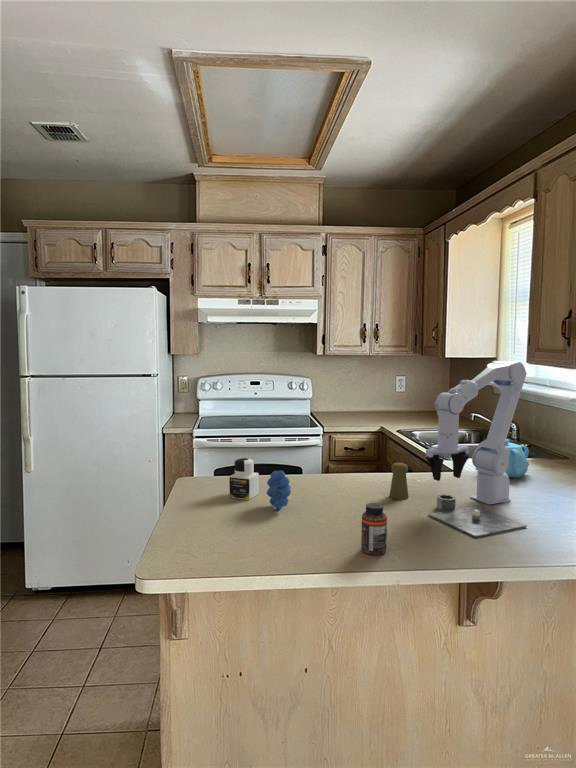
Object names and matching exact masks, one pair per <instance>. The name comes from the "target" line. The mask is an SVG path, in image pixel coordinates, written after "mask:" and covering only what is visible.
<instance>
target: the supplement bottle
mask: <svg viewBox="0 0 576 768" xmlns="http://www.w3.org/2000/svg"><path fill="white" fill-rule="evenodd" d="M387 534H388V516H387V515H386V513H384V505H383V504H382V503H379V502H368V503H366V504H365V511H364V512H363V513H362V515H361V539H360V540H361V541H360V545H361V547H360V548H361V551H362V552H364V554H367V555H370V556H381V555H384V554H385V553H386V552H387V539H388V537H387Z"/></svg>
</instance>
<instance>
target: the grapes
mask: <svg viewBox="0 0 576 768" xmlns="http://www.w3.org/2000/svg"><path fill="white" fill-rule="evenodd" d="M266 484H267V485H268V487H269V488H268V489H267V491H266V494H267V496H268V497H270V498H269V502H268V503H270V505H271V506H273V507H275V509H276V510H281V509H282V508H283V507H285V506H287V505H288V504H289V498H288V497H289V496H290V495H291V493H292V490H291V488H292V487H291V485H290V478H288V477H287V476H286V473H285V472H284V471H283V470H274V471H273V472H272V473H271V474H270V478H269V479H268V480H267V482H266Z"/></svg>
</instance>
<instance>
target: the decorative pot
mask: <svg viewBox="0 0 576 768" xmlns="http://www.w3.org/2000/svg"><path fill="white" fill-rule="evenodd" d="M504 445H505V447H506V448H507V449H508V451H509V452H510V455H509V465H508V468H507V470H506V471H505V473H506V474H507V475H508V477H509V478H514V479H520V478H521V477H523V476H525V475H526V474H527V472H528V467H529V466H530V462H529V461H528V460H527V459H528V456H529V453H530V451H529V448H528V447H527V446H526V445H523V444H517V443H514V442H511V441H510V439H508V438H506V441H505V444H504ZM523 449H524V450H523ZM492 452H495V451H492ZM496 453H498V452H496Z"/></svg>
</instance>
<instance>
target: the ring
mask: <svg viewBox="0 0 576 768" xmlns="http://www.w3.org/2000/svg"><path fill="white" fill-rule="evenodd" d="M436 509H437V510H439V511H440V512H443V511H448V510H454V509H456V496H454V495H451V494H444V493H442V494H437V496H436Z"/></svg>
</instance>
